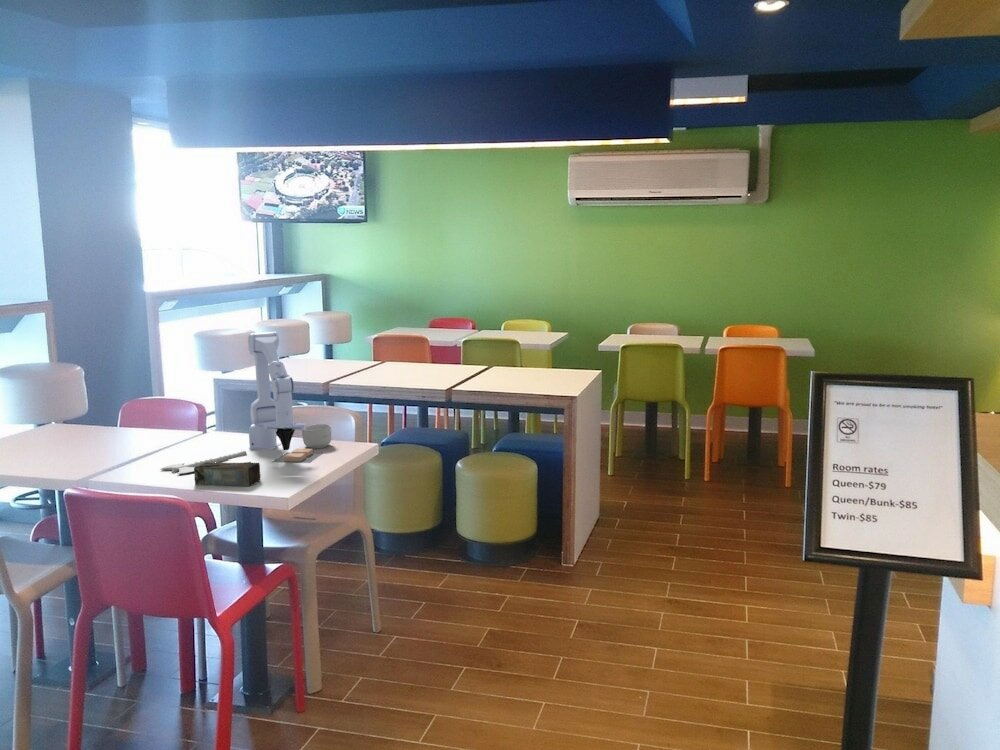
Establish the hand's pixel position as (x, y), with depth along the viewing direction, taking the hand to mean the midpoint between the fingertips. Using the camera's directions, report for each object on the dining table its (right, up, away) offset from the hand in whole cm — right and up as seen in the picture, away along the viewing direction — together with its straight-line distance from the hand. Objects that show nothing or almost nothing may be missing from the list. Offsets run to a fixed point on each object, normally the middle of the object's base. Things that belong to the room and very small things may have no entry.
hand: (286, 449), depth 298 cm
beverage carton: (-12, -9, -26) cm, 30 cm away
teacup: (+6, -1, +22) cm, 23 cm away
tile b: (0, -3, 0) cm, 3 cm away
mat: (+3, -3, +4) cm, 6 cm away
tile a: (+1, -2, +7) cm, 8 cm away
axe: (-27, -6, -2) cm, 27 cm away
